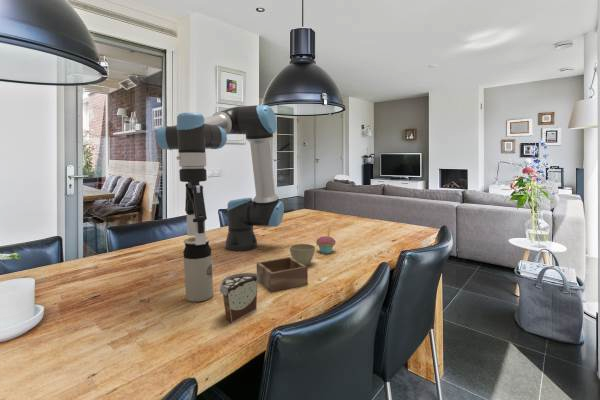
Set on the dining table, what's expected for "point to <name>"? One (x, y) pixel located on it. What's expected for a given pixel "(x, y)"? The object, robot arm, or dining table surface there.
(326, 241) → the cupcake
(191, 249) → the travel mug
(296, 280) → the open box
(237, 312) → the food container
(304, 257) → the flower pot
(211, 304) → the dining table surface
